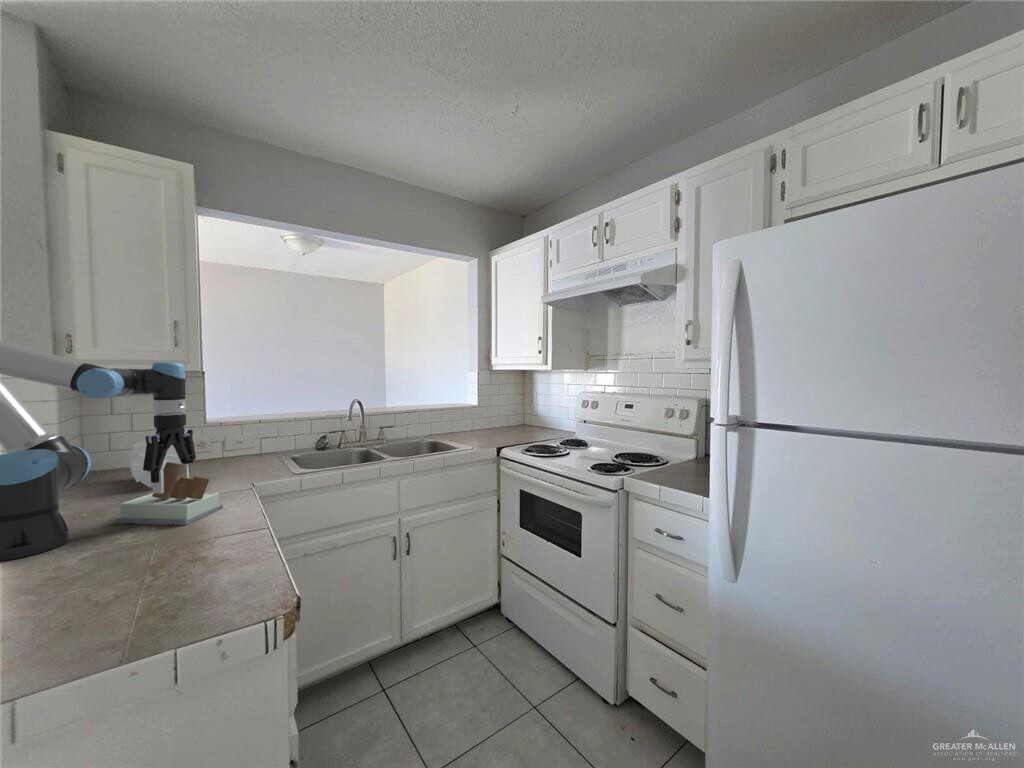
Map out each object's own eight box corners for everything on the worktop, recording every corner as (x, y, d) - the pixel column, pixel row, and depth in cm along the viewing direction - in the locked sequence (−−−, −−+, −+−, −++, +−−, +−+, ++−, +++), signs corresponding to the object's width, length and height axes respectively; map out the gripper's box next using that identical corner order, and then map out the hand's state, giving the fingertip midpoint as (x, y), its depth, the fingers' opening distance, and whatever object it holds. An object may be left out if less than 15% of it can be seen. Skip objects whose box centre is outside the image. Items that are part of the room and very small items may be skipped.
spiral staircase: (149, 502, 149) (142, 484, 166) (203, 473, 160) (191, 460, 177) (118, 460, 142) (114, 447, 160) (176, 434, 153) (167, 424, 171)
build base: (185, 525, 117) (185, 506, 117) (115, 523, 118) (115, 504, 118) (222, 508, 131) (222, 491, 131) (160, 507, 132) (159, 490, 132)
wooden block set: (206, 505, 124) (219, 471, 127) (175, 503, 117) (190, 467, 120) (170, 495, 131) (183, 463, 134) (139, 493, 123) (153, 459, 126)
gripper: (149, 418, 113) (151, 499, 114) (209, 410, 134) (210, 479, 134) (123, 417, 113) (125, 499, 114) (187, 410, 134) (188, 479, 135)
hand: (171, 488), depth 124 cm, fingers open, 8 cm apart
